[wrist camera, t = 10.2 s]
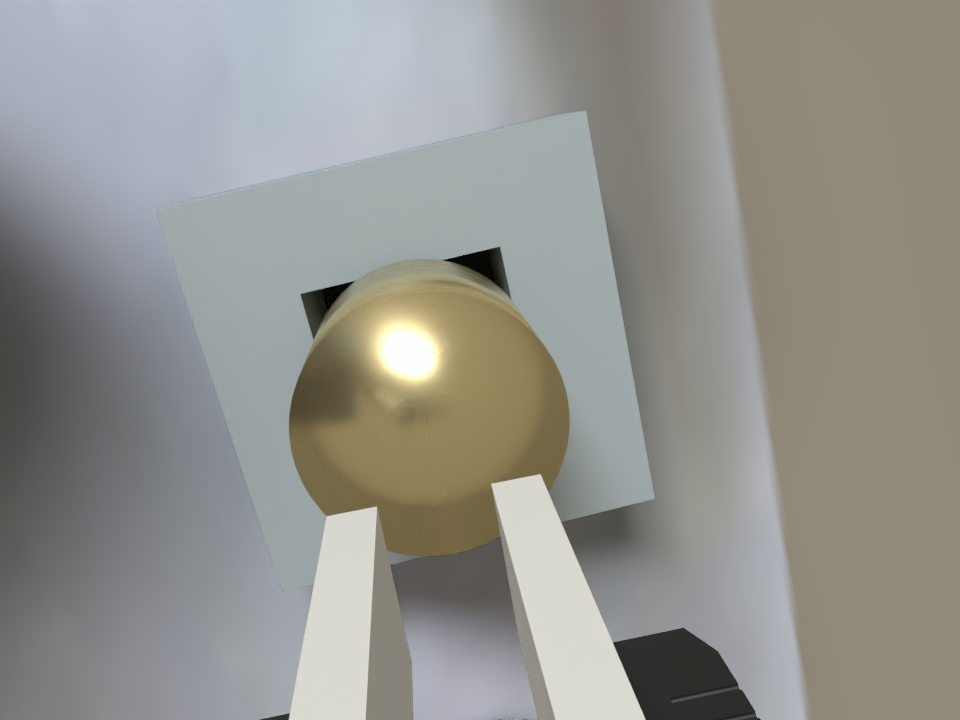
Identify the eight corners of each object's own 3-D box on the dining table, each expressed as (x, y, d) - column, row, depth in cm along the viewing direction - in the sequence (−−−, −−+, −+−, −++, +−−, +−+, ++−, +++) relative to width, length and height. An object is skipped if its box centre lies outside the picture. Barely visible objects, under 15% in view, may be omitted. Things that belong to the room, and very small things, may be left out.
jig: (617, 447, 30) (654, 498, 26) (298, 526, 30) (282, 592, 25) (555, 115, 27) (585, 110, 22) (195, 198, 26) (155, 210, 22)
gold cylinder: (436, 451, 29) (455, 603, 20) (288, 348, 28) (231, 458, 18) (548, 313, 29) (625, 401, 19) (401, 198, 27) (403, 231, 17)
